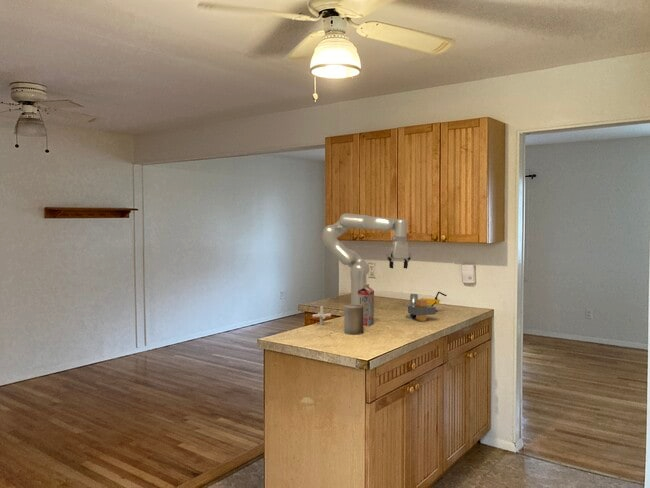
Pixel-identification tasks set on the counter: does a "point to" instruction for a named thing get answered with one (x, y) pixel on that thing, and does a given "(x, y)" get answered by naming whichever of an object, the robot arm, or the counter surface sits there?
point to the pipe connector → (321, 315)
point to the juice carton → (367, 304)
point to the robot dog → (433, 300)
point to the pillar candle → (353, 319)
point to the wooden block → (421, 304)
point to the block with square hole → (418, 308)
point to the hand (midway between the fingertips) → (398, 268)
